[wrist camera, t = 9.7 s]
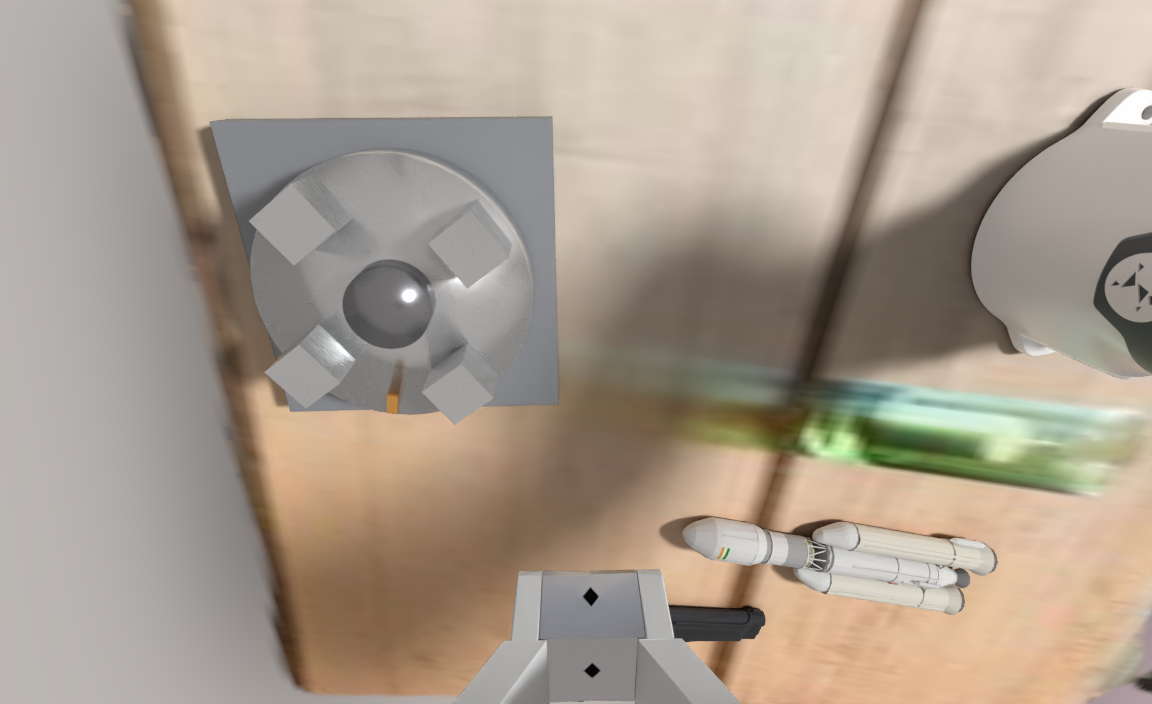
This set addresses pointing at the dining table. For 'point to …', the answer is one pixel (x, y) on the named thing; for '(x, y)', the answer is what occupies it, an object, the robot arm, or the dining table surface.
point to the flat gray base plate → (477, 144)
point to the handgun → (715, 623)
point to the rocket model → (854, 560)
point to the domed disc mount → (391, 284)
